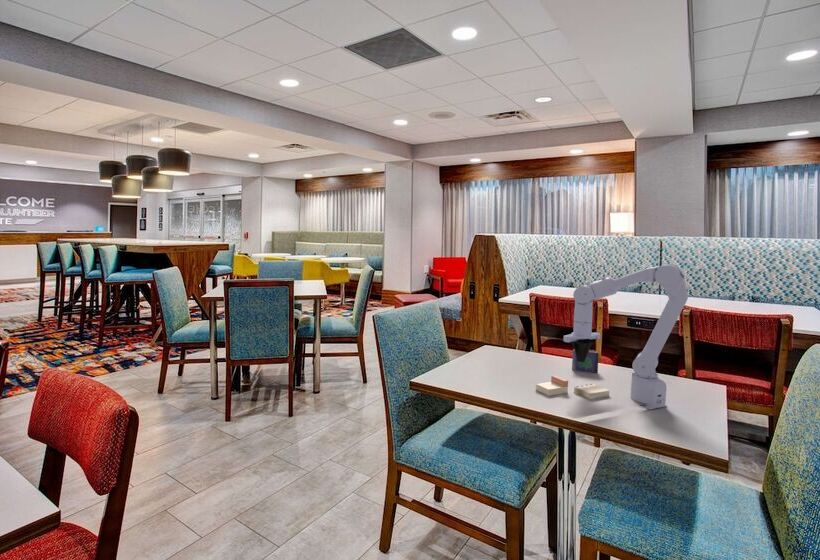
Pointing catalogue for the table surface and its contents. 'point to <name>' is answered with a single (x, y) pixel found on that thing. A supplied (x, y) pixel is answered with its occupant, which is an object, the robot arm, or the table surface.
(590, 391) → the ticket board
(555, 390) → the cream block with bar
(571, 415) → the table surface
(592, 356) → the flask
